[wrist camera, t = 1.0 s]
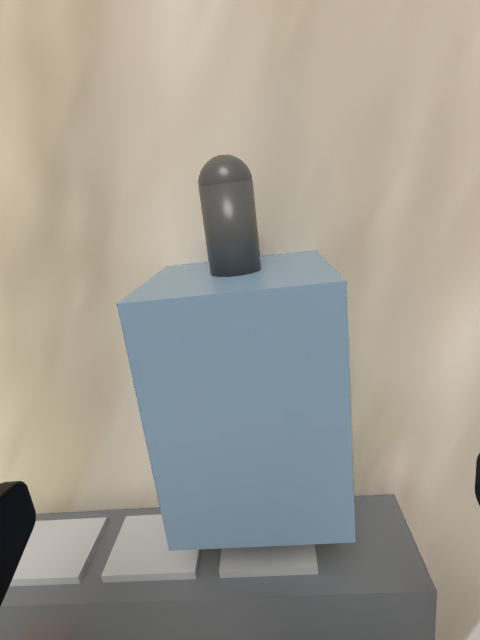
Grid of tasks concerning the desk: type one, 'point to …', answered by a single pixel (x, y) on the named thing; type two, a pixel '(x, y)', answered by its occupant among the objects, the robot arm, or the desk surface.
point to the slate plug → (244, 384)
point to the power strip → (217, 583)
